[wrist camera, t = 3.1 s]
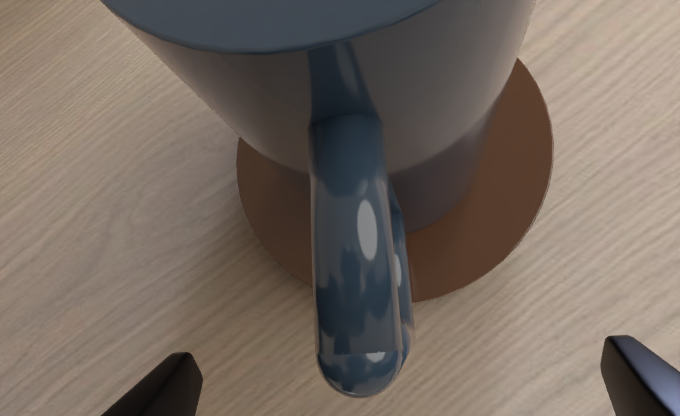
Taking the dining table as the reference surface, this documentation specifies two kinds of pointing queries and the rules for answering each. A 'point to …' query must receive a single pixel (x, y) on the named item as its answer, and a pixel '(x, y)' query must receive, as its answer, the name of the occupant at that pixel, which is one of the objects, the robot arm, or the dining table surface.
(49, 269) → the dining table surface
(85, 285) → the dining table surface
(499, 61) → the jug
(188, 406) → the robot arm
